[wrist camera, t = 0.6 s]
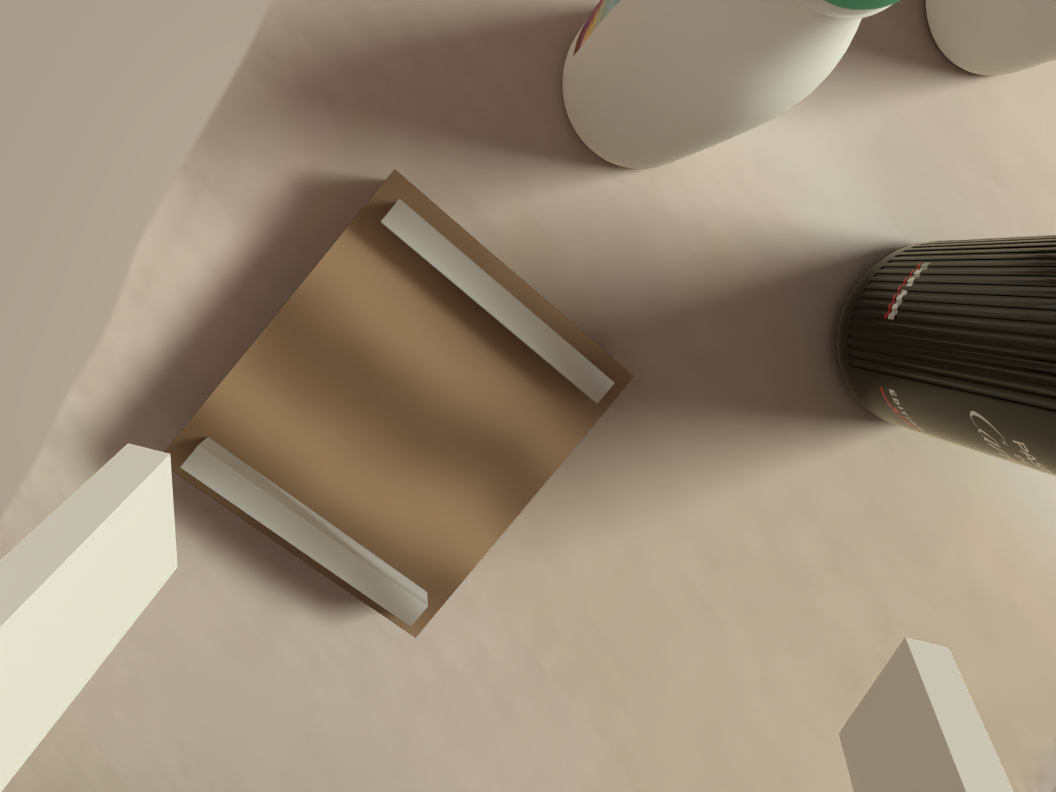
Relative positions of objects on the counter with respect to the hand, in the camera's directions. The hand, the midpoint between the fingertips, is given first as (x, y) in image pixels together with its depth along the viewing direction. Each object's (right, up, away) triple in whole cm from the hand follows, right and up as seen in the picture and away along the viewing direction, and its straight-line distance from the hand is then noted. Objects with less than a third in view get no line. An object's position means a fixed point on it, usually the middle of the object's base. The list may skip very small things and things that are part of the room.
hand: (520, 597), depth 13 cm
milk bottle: (+5, +19, +23) cm, 30 cm away
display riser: (-6, +3, +23) cm, 25 cm away
